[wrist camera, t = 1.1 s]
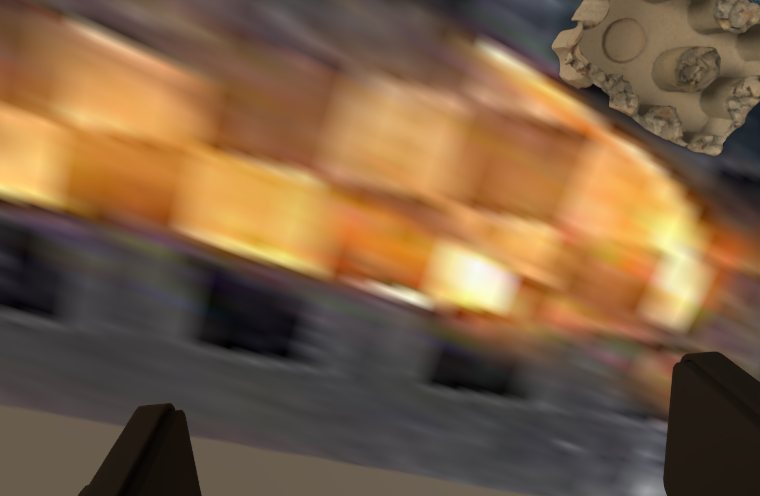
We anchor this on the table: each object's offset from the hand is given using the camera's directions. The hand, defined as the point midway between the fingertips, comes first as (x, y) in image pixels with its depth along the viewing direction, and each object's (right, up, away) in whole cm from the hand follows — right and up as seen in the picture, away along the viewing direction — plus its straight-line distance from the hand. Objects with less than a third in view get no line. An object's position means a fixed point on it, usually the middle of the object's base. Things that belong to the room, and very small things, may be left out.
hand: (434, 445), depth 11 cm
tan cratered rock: (+14, +15, +21) cm, 29 cm away
